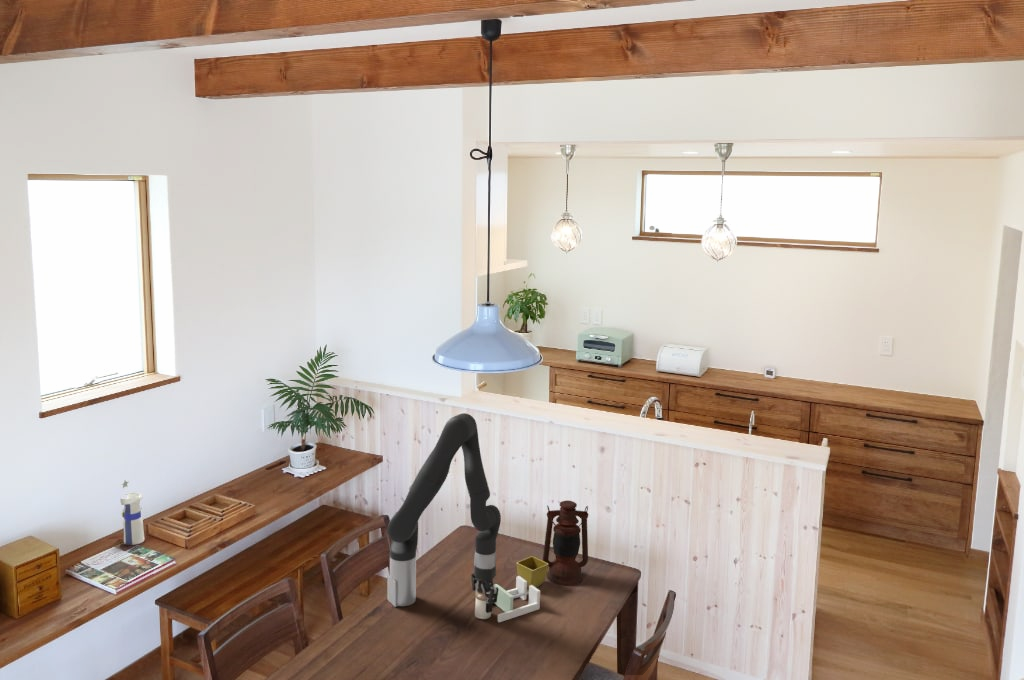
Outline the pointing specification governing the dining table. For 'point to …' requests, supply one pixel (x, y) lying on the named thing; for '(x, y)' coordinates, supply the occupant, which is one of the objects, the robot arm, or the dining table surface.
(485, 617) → the jar
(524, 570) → the flower pot
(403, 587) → the robot arm
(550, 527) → the lantern
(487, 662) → the dining table surface
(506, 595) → the pusher
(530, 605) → the lane
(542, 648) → the dining table surface
